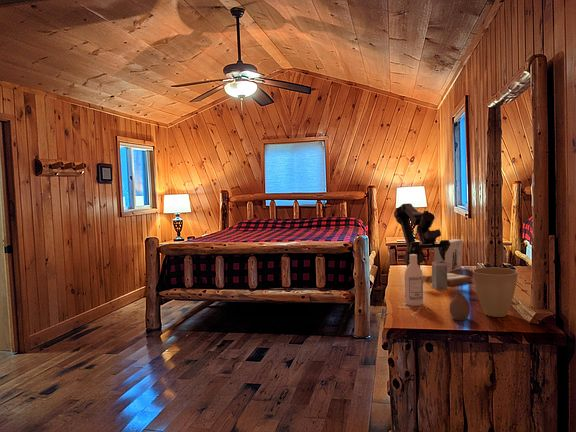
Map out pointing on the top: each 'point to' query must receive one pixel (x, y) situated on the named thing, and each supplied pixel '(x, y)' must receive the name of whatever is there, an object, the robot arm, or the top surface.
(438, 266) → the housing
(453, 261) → the skincare box
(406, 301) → the bath foam
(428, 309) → the top surface
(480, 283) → the plant pot
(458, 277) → the stand
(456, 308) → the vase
